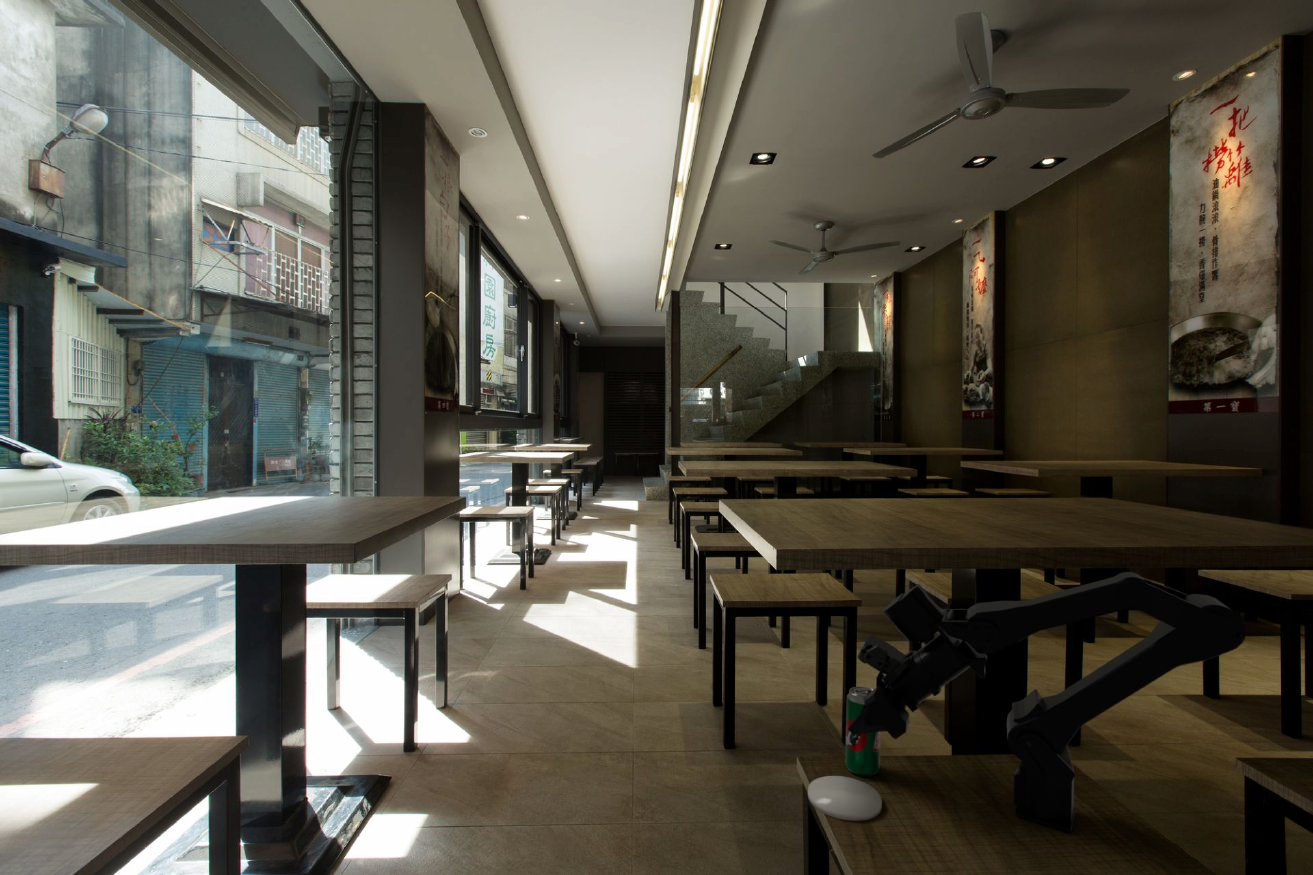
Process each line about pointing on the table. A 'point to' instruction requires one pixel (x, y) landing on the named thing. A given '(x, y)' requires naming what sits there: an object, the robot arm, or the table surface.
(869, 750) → the soda can
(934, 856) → the table surface
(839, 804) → the coaster
